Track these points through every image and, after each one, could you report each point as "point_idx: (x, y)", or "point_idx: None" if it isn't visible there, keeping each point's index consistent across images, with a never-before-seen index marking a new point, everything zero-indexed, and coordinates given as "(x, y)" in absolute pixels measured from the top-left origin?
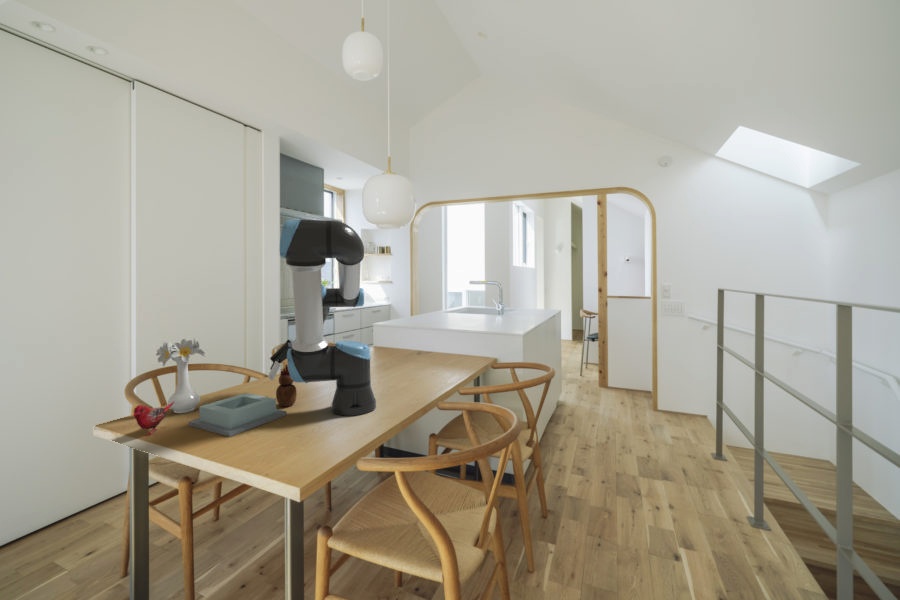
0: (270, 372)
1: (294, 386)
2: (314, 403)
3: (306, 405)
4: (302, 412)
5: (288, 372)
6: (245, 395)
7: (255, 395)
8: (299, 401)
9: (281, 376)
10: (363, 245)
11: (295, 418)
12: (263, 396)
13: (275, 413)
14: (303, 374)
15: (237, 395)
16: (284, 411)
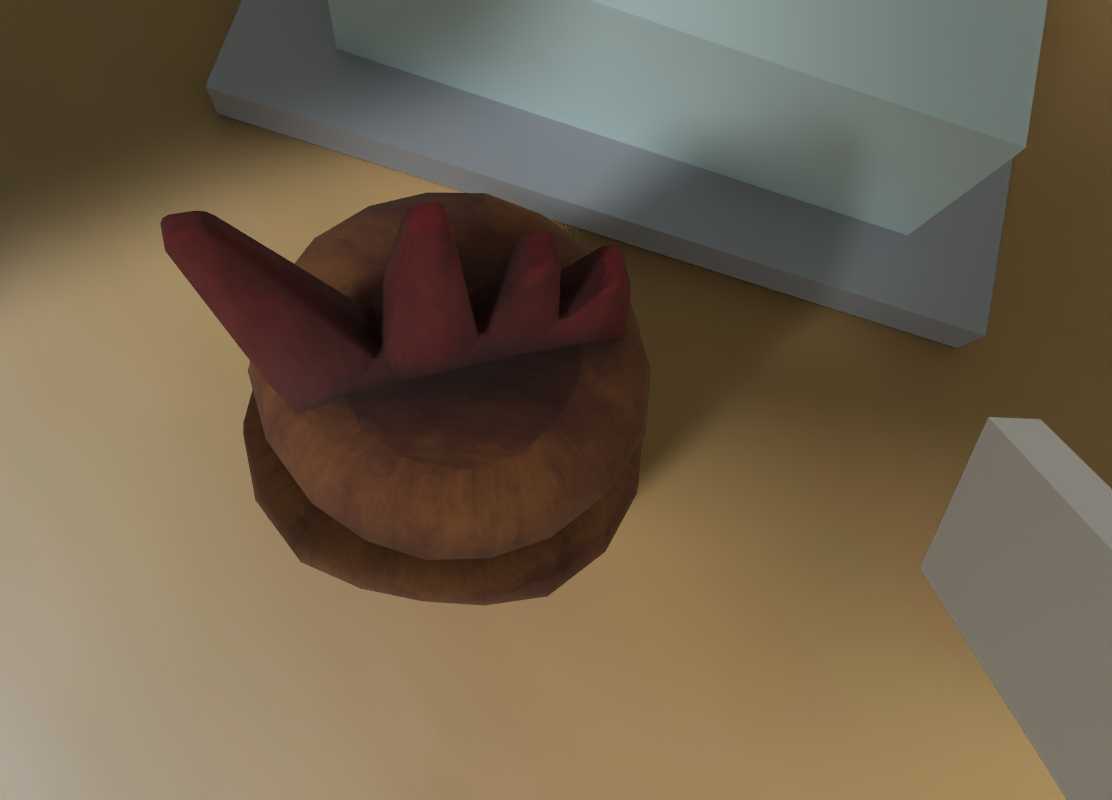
0: (1095, 498)
1: (266, 458)
2: (32, 645)
3: (126, 524)
4: (37, 228)
5: (354, 310)
6: (926, 26)
7: (771, 36)
8: (351, 692)
9: (518, 213)
10: None
11: (25, 15)
12: (605, 1)
13: (315, 3)
14: None
15: (1040, 15)
16: (234, 81)
